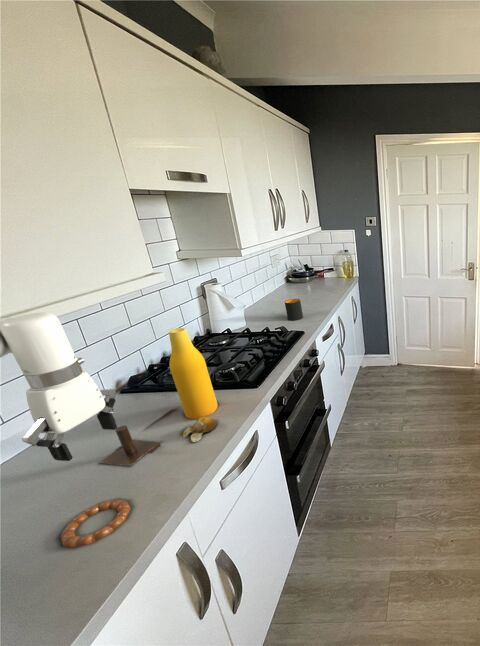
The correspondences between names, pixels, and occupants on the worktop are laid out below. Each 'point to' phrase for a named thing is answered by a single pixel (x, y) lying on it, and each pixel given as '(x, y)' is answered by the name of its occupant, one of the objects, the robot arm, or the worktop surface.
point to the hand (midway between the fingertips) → (88, 443)
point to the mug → (293, 309)
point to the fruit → (200, 428)
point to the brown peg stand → (129, 449)
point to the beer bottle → (191, 376)
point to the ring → (76, 541)
